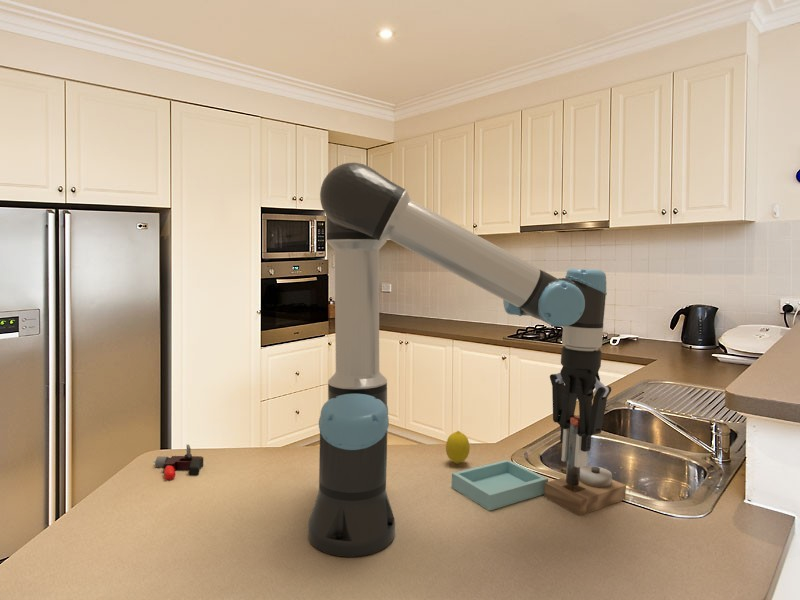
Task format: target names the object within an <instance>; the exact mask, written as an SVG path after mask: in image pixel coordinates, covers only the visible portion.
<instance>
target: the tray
mask: <svg viewBox="0 0 800 600" xmlns="http://www.w3.org/2000/svg"><path fill="white" fill-rule="evenodd" d="M546 482H549V478H547V477H545V476H543V475H542V474H539V473H536V472H535V471H533V470H531V469H529V468H526V467H524V466H522V465H521V464H518V463H516V462H514V461H511V460H510V459H504V460H503V459H502V460H500V461H497V462H492V463H488V464H484V465H480V466H476V467H471V468H467V469H463V470H460V471H456V472H452V473H451V488H452V489H453V490H456V491H457V492H458V493H460V494H462V495H463V496H464V497H466V498H468V499H469V500H471V501H473V502H475V503H476V504H477V505H479V506H481V507H483V508H484V509H486V510H487V511H493V510H496V509H500V508H503V507H507V506H509V505H513V504H516V503H521V502H522V501H526V500H529V499H532V498H535V497H538V496H542V495H543V496H544V490H545V483H546Z"/></svg>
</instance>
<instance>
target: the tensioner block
mask: <svg viewBox="0 0 800 600" xmlns="http://www.w3.org/2000/svg"><path fill="white" fill-rule="evenodd" d="M626 492H627V485H626V484H624V483H622V482H619V481H617V480H615V479H613V473H612V472H611V471H610V470H608V469H606V468H604V467H601V466H594V465H585V466H581V467H580V479H579V485H570V484H567V483H566V476H564V477H560V478H557V479H553V480H551V481H548V482H546V483H545V490H544V494H543V497H544V498H546V499H547V500H549V501H551V502H553V503H555V504H557V505H559V506H560V507H562V508H564V509H566V510H568V511H569V512H571V513H574V514H576V515H578V516H583V515H585V514H589V513H591V512H593V511H596V510H599V509H602V508H605V507H608V506H611V505H614V504H616V503H619V502H622V501H624V500H623V499H625V500H626Z"/></svg>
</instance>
